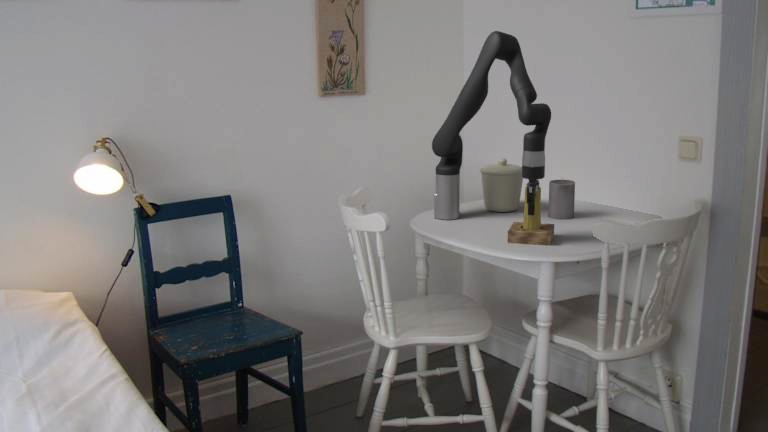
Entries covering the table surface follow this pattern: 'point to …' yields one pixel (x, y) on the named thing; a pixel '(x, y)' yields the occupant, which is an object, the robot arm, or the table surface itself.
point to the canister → (501, 186)
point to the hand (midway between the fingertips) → (532, 212)
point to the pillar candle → (561, 199)
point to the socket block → (531, 234)
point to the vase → (534, 220)
